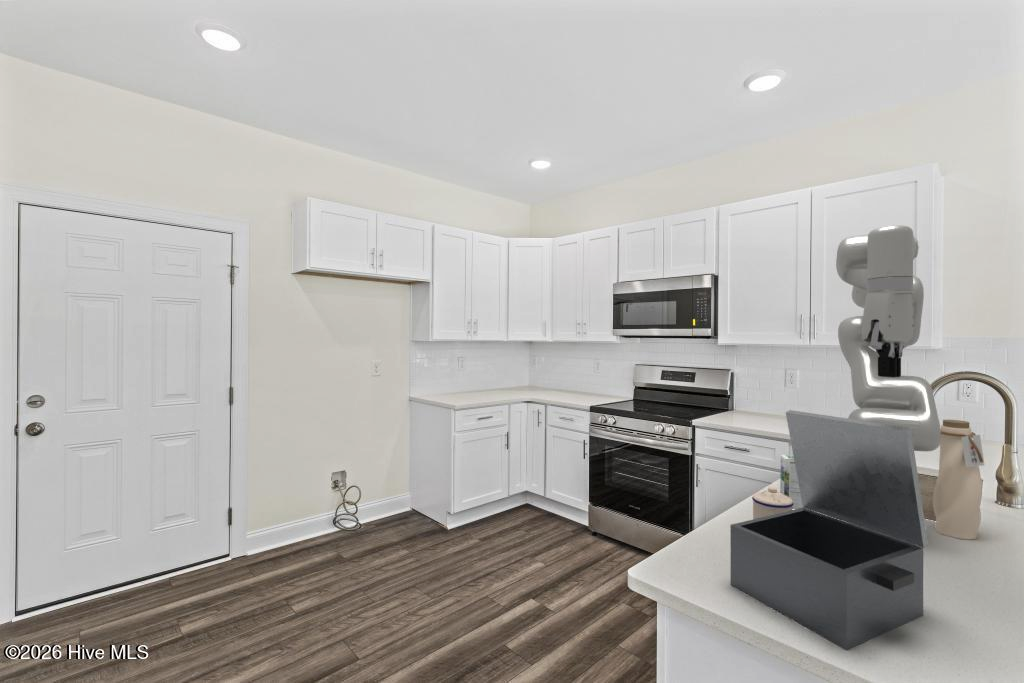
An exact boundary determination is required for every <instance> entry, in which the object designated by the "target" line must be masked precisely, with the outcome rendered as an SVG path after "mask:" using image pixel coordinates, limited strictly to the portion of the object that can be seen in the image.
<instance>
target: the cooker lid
mask: <svg viewBox="0 0 1024 683" xmlns="http://www.w3.org/2000/svg"><path fill="white" fill-rule="evenodd" d="M785 417H786V422H787V427H788V432H789V433H788V434H789V438H790V443H791V449H792V450H791V451H792V455H793V456H794V461H795V467H796V472H797V477H798V483H799V488H800V494H801V499H802V505H803V508H806V509H808V510H811V511H814V512H817V513H820V514H823V515H826V516H829V517H832V518H835V519H838V520H841V521H844V522H847V523H851V524H854V525H857V526H860V527H863V528H866V529H869V530H872V531H875V532H878V533H881V534H884V535H887V536H890V537H893V538H896V539H899V540H902V541H905V542H908V543H910V544H913V545H916V546H919V547H922V548H923V549H924V548H925V547H926V546H928V545H929V541H928V534H927V533H928V532H927V529H926V521H925V520H926V519H925V514H924V507H923V501H922V500H923V499H922V495H921V486H920V480H919V475H918V474H919V473H918V467H917V460H916V455H915V451H914V446H913V440H912V433H911V428H909V427H902V426H896V425H889V424H882V423H875V422H868V421H861V420H854V419H848V418H845V417H840V416H832V415H827V414H826V415H825V414H820V413H814V412H813V413H812V412H805V411H798V410H791V409H789V410H787V411H785Z"/></svg>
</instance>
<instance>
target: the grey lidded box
mask: <svg viewBox="0 0 1024 683" xmlns="http://www.w3.org/2000/svg"><path fill="white" fill-rule="evenodd" d="M729 527H730V585H731V586H732V587H734V588H735V589H738V590H739V591H740V592H741V591H742V592H743V593H745V594H747V595H748V596H750V597H752V599H755V600H758V601H759V602H761V603H763V604H764V605H766V606H768V607H770V608H772V609H773V610H775V611H776V612H778V613H779V614H782V615H784V616H786V617H787V618H789V619H790V620H793V621H794V622H796V623H798V624H800V625H802V626H803V627H805V628H807V629H809V630H810V631H812V632H814V633H816V634H817V635H819V636H820V637H823V638H825V639H826V640H828V641H830V642H831V643H833V644H834V645H837V646H839V647H841V648H842V649H844V650H846V651H848V650H850V649H851V648H855V647H857V646H858V645H860V644H864V643H865V642H868V641H870V640H872V639H875V638H877V637H878V636H881V635H883V634H885V633H887V632H889V631H893V630H894V629H896V628H898V627H901V626H903V625H906V624H908V623H909V621H910V622H911V621H914V620H916V619H919V618H921V617H923V616H924V548H923V547H920V546H917V545H914V544H911V543H907V542H904V541H901V540H898V539H895V538H892V537H889V536H886V535H883V534H880V533H877V532H874V531H871V530H868V529H865V528H862V527H859V526H856V525H853V524H850V523H848V522H845V521H842V520H839V519H836V518H833V517H830V516H827V515H824V514H821V513H818V512H815V511H812V510H809V509H805V508H799V509H795V510H791V511H786V512H782V513H778V514H774V515H770V516H765V517H761V518H757V519H753V518H752V519H749V520H745V521H740V522H738V523H737V522H736V523H732V524H730V526H729Z"/></svg>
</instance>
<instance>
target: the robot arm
mask: <svg viewBox="0 0 1024 683" xmlns="http://www.w3.org/2000/svg"><path fill="white" fill-rule="evenodd" d="M919 248H920V247H919V241H918V239H917V237H915V236H914V230H913V228H911V227H910V226H908V225H889V226H883V227H877V228H874V229H873V230H871V231H870V232H868V234H859V235H853V236H848V237H846V238H843V239H842V240H841V241H840V243H839V244H838V247H837V251H836V258H835V259H836V260H835V266H836V267H835V268H836V269H835V270H836V272H837V275H838V276H839V278H840V280H842V281H843V282H845V283H846V284H848V285H851V286H852V290H851V299H852V302H854V304H855V305H856V306H857V307H860V308H861V309H863V314H862V315H856V316H851V317H848V318H845V319H843V320H842V321H841V322H840V324H839V325H838V329H837V337H838V343H839V347H840V350H841V352H842V354H843V355H842V356H844V359H845V360H846V362H847V365H848V366H849V368H850V375H851V389H852V397H853V401H854V404H855V405H856V406H857V407H858V408H857V409H854V410H852V411H851V412H850V413H849V415H848V419H854V420H861V421H868V422H875V423H882V424H889V425H896V426H902V427H909V428H911V433H912V440H913V446H914V452H933V451H935V450H937V449H938V448H940V443H941V424H940V419H939V414H938V410H937V407H936V401H935V394H934V392H933V388H932V386H931V384H930V383H929V381H928V380H927V379H924V378H923V377H921V376H915V375H902V357H903V354H904V353H903V351H904V349H906V348H907V347H910V346H913V345H915V344H917V342H918V340H920V339H919V338H920V335H921V326H922V324H921V323H922V316H923V307H924V298H925V297H924V296H925V295H924V294H925V292H924V286H923V282H922V281H921V279H920V278H919V277H917V276H916V275H914V260H915V258H917V257H918V254H919ZM850 524H851V523H850ZM853 525H854V524H853ZM856 526H857V525H856ZM859 527H860V526H859ZM862 528H863V527H862ZM865 529H866V528H865ZM868 530H869V529H868ZM871 531H872V530H871ZM874 532H875V531H874ZM877 533H878V532H877ZM880 534H881V533H880ZM883 535H884V534H883ZM886 536H887V535H886ZM889 537H890V536H889ZM892 538H893V537H892ZM895 539H896V538H895ZM898 540H899V539H898ZM901 541H902V540H901ZM904 542H905V541H904ZM907 543H908V542H907Z"/></svg>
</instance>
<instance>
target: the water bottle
mask: <svg viewBox="0 0 1024 683" xmlns="http://www.w3.org/2000/svg"><path fill="white" fill-rule="evenodd" d="M940 429H941V443H940V445H939V463H938V465H939V466H938V475H937V477H936V481H935V486H934V490H933V495H932V496H933V497H932V508H933V512H934V516H935V519H936V521H935V526H934V530H935V531H936V532H937V533H939V534H941V535H944V536H946V537H951V538H954V539H960V540H976V539H977V538H978V532H979V529H980V525H981V519H982V516H981V515H982V512H981V504H982V498H983V484H982V477H981V471H980V466H981V467H982V466H985V459H984V453H983V446H982V440H981V435H980V434H976V433H975V432H973V431H972V428H971V427H970V421H966V420H960V419H959V420H958V419H943V420H942V424H940Z"/></svg>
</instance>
